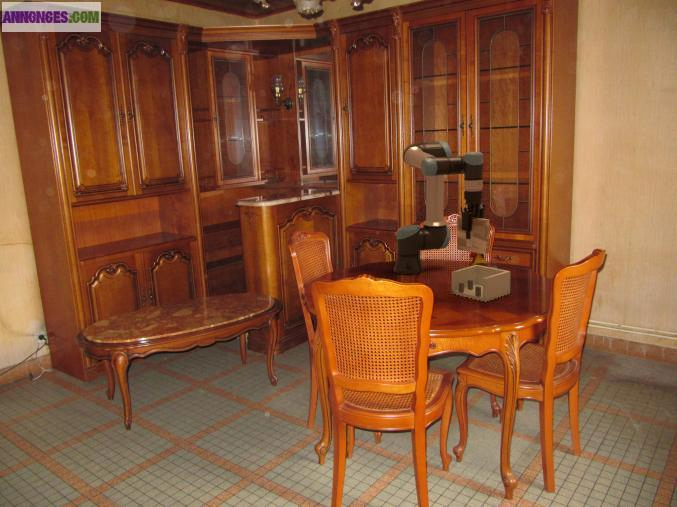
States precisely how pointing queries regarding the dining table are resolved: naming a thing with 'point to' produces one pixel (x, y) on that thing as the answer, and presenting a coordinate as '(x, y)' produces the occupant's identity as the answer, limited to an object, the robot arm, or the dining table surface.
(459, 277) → the cabinet
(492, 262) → the pocket watch
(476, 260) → the ornament
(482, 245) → the door
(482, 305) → the dining table surface
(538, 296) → the dining table surface
